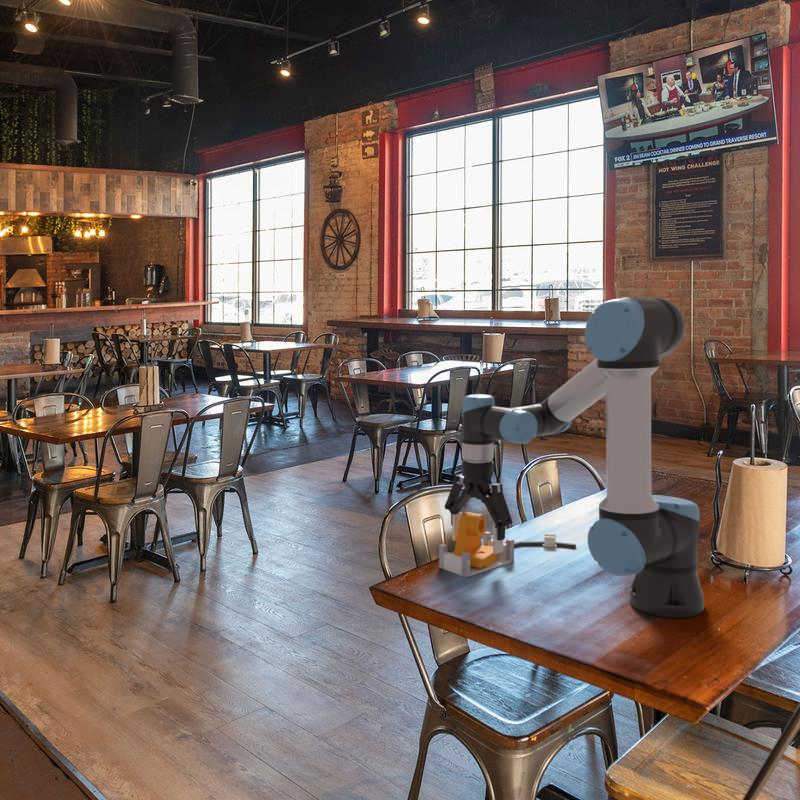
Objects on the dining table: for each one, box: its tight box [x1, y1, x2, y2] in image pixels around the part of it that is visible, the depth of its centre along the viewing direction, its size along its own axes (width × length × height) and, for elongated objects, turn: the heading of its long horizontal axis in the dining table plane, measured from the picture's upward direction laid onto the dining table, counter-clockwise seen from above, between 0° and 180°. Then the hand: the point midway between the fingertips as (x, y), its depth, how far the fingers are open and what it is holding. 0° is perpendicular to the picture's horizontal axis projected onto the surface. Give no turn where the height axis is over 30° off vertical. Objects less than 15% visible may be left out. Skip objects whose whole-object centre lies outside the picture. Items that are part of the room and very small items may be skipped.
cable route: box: [503, 532, 577, 549], centre depth 216 cm, size 6×23×3 cm, turn 100°
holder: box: [438, 531, 515, 578], centre depth 203 cm, size 9×17×6 cm, turn 131°
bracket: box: [453, 511, 499, 568], centre depth 202 cm, size 11×7×12 cm
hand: (477, 545), depth 203 cm, fingers open, 13 cm apart
